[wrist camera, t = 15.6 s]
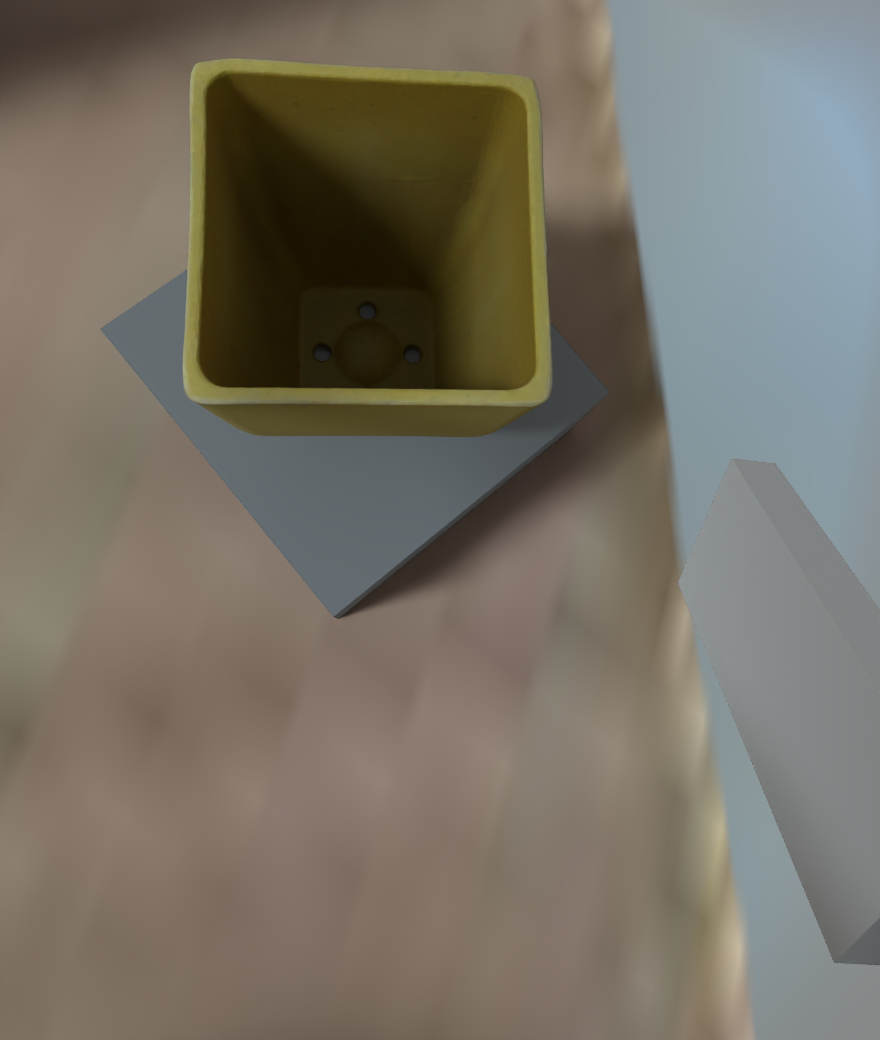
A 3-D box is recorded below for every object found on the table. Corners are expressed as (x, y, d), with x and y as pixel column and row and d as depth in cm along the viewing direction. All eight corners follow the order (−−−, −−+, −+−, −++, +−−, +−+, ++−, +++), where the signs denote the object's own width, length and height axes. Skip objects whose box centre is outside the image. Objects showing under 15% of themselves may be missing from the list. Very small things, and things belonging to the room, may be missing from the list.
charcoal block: (338, 619, 30) (333, 617, 25) (142, 377, 31) (100, 328, 26) (572, 428, 32) (609, 392, 27) (385, 206, 33) (388, 132, 28)
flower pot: (492, 480, 26) (556, 404, 18) (243, 480, 25) (178, 401, 17) (484, 250, 28) (541, 72, 19) (247, 243, 27) (189, 52, 18)
